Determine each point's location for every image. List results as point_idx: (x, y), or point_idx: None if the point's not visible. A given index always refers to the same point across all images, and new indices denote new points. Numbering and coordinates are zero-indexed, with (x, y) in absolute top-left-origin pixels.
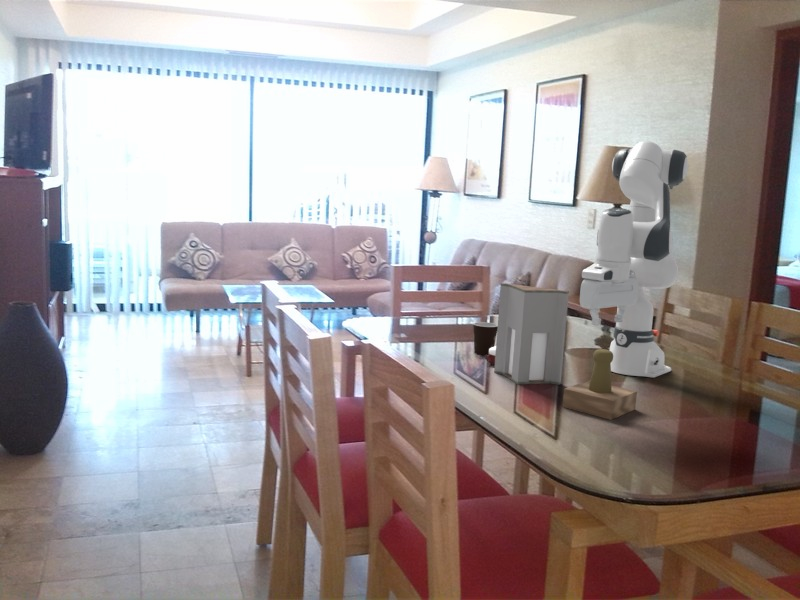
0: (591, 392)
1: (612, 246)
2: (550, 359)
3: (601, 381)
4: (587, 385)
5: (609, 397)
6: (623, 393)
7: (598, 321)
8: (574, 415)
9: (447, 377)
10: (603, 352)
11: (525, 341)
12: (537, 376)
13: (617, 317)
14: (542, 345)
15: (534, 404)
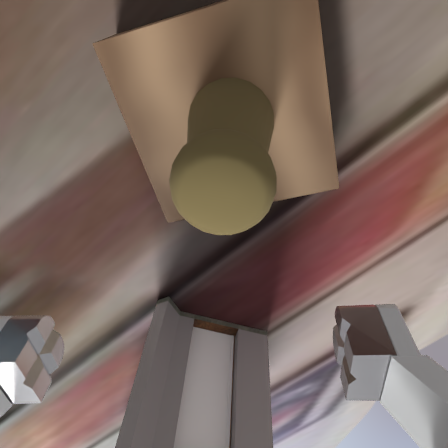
0: (290, 112)
1: None
2: (175, 365)
3: (260, 108)
4: None
5: (283, 23)
6: (174, 44)
7: (393, 330)
8: (375, 78)
9: (368, 403)
10: (255, 173)
11: (257, 438)
12: (206, 337)
13: (34, 366)
14: (189, 415)
15: (380, 209)
